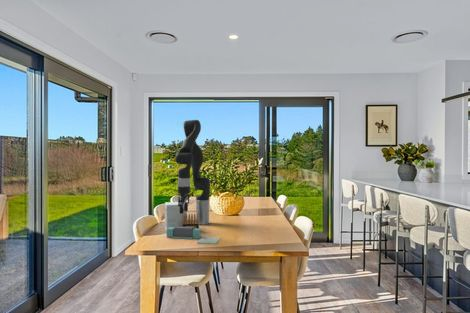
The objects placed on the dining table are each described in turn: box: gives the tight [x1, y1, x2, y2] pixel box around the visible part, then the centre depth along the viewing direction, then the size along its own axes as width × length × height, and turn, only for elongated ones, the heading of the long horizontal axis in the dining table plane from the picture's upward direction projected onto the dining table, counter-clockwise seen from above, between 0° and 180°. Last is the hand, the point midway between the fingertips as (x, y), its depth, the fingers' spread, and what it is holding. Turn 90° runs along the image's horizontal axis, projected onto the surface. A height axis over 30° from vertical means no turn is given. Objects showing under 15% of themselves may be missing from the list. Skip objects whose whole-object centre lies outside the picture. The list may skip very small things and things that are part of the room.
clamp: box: [166, 227, 202, 240], centre depth 197 cm, size 8×20×5 cm, turn 81°
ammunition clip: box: [182, 212, 200, 229], centre depth 211 cm, size 11×2×12 cm, turn 96°
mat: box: [196, 236, 221, 245], centre depth 189 cm, size 12×11×1 cm
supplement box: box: [164, 201, 188, 233], centre depth 218 cm, size 13×13×18 cm
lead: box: [174, 226, 194, 239], centre depth 197 cm, size 4×11×6 cm, turn 81°
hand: (183, 212), depth 197 cm, fingers open, 8 cm apart
